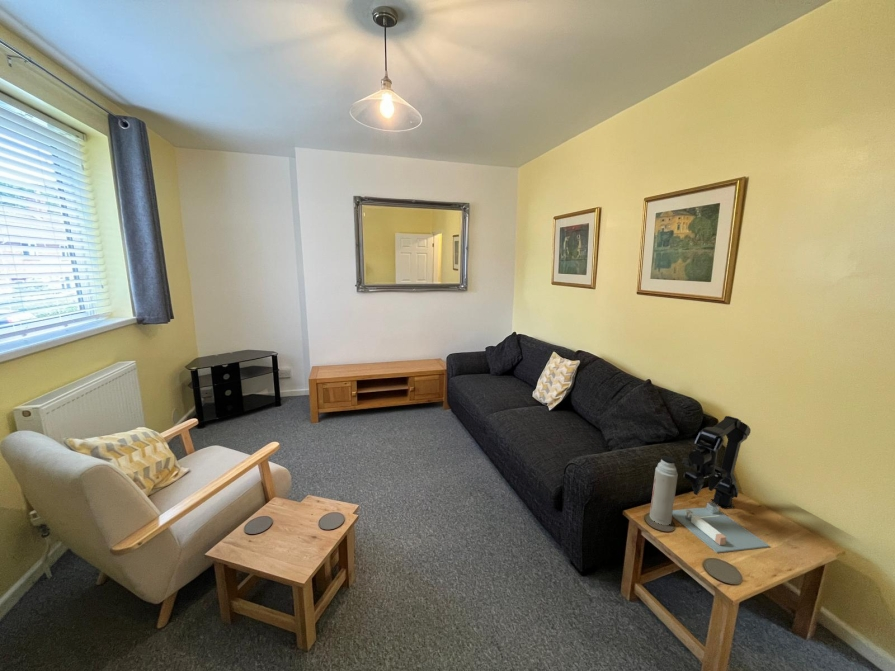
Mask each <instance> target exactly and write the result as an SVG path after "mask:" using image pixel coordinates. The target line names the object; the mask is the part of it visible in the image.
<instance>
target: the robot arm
mask: <svg viewBox="0 0 895 671" xmlns="http://www.w3.org/2000/svg"><path fill="white" fill-rule="evenodd" d="M750 435H751V428H750V426H749V425H748V424H746V423H745V422H743V421H742V420H740V419H739V418H736V417H734V416H731V415H725V416H724V418H723V419H722V420H721V421H719V422H718V423H716V424H715V425H714V426H706V427H704V428H702V429H701V430H699V432H698V435H697V436H696V438H695V441H694V443H693V444H694V445H695V446H697V447H695V449H694V450H691V451H690V452H689V453H688V458H687V457H685V458H684V457H683V458H682V462H681V463H682V465H683V466H684V467H685V468H690V469H691V468H692V469H693V470H688V471H685V472H684V473H683V478H684V479H686V480H687V481H689V482H690V483H691V487H692V490H693V491H692V492H693V495H695V496H698V495H699V493H700V491H701V489H702V488H703V486H704V485H705V483H704V482H705V478H708V490H709V491H710V492H712V491H713V490H715V492H714V494H713V495H714V496H713V498H711V499H710V501H711V500H712V501H711V502H713V503H714V502H715V504H716V505H717V504H718V505H719V508H721V507H722V509H723V508H725V509H733V508H732V507H735V506H734V504H732V503H733V499H734V498H738V495H739V492H740V491H739V488H738V486H737V485H736V484H737V478H736V477H735V475H734V472H735V468H736V464H737V460H738V457H739V452H740V448H741V445H742V443H744V441H746V440H747V439H748V436H750ZM725 436H726V438H727V443H726V445H725V446H726V447H725V450H724V453H723V454H724V455H723V457H722V462H721V466H719V463H718V462H717V458H718V453H719V451H720V449H721V447H722V446H723V444H724V442H725V440H724V437H725Z"/></svg>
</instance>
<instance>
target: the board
mask: <svg viewBox="0 0 895 671" xmlns="http://www.w3.org/2000/svg"><path fill="white" fill-rule="evenodd" d="M706 507H707V506H706ZM706 507H695V508H683V509H673V512H672V518H674V519H675V520H676V521H677V522H679V523H680V524H681V525H683V527H685V528H686V529H688V531H689V532H691V533H692V534H693V535H694V536H696V537H697V538H698V539H699V540H700V541H702V542H703V543H704V544H705V545H707V547H709V548H710V549H711V550H712V551H714V552H715V553H716V554H718V553H728V552H738V551H747V550H754V549H755V550H757V549H765V548H771V547H770V545H769V544H768V543H766V542H765V541H764V540H762V539H761V538H760V537H758V536H757V535H755V534H754V533H752V532H750V531H749V530H748V529H746V528H745V527H743V526H742V525H740V524H739V523H738V522H737V521H735V520H733V518H731V517H729V516H728V515H727V514H725V513H723V512H722V511H721V510H719V511H718V514H711V513H710V512H709V511H707V510H706ZM686 510H690V511H692V512H693V515H697V516H699V517H700V518H701V519H703V520H704V521H705V522H707V523H708V524H709V525H711V526H712V527H713V528H715V529H716V530H717V531H718V532H720V533H721V534H723V535H724V536H725V537H726V542H725V545H719V544H718V543H716V542H715V541H714V540H713V539H712V538H710V537H709V536H708V535H707V534H705V533H704V532H703V531H702V530H700V529H699V528H698V527H697V526H695V525H694V524H693V523H692V522H691V521H689V520H687V519H685V515H686ZM693 515H692V516H693Z"/></svg>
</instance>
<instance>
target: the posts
mask: <svg viewBox="0 0 895 671" xmlns="http://www.w3.org/2000/svg"><path fill="white" fill-rule="evenodd" d="M706 510H707V511H709V512H710V513H711V514H718V511H720V506H718V505H717V504H716V503H714V502H713V501H711V502H706ZM692 515H693V512H692V511H690V510H686V515H685V519H687V520H689V521H691V519H692Z"/></svg>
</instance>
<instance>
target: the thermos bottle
mask: <svg viewBox="0 0 895 671" xmlns="http://www.w3.org/2000/svg"><path fill="white" fill-rule="evenodd" d="M675 463H676V460H675V458H673V457H672V456H671V457H670V456H666V455H662V456H661V459H660V461H659V462H658V463H657V466H656V467H655V470H654V479H653V484H652V485H653V487H652V493H651V494H652V495H651V502H650V509H649V518H650V520H651V521H653V522H654V521H655V522H654V523H656V524H658V523H659V524H658V525H661V524H662V526H670V525H671V524H672V520H673V519H672V518H673V516H672V512H673V510H674V504H675V497H676V490H677V482H678V475H679V474H678V472H677V467H676V465H675ZM669 524H670V525H669Z"/></svg>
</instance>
